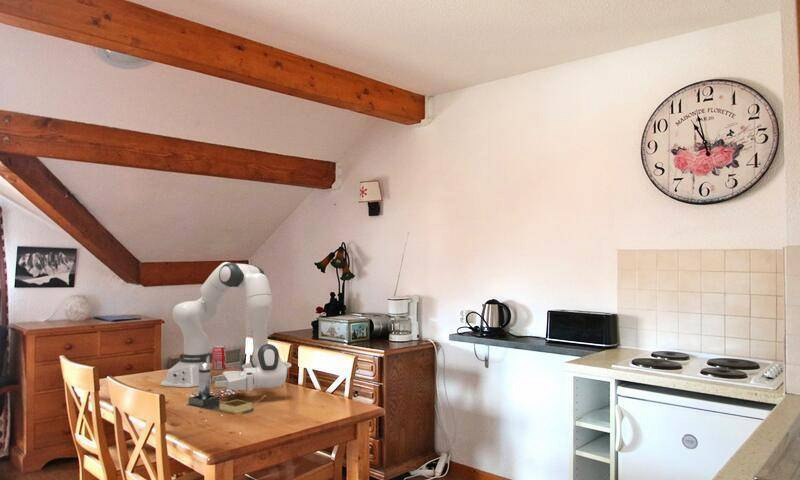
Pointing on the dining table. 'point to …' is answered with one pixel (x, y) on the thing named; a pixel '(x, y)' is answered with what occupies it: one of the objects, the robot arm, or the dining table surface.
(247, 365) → the soup bowl
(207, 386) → the tube
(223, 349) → the soda can
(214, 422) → the dining table surface
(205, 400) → the plate
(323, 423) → the dining table surface
